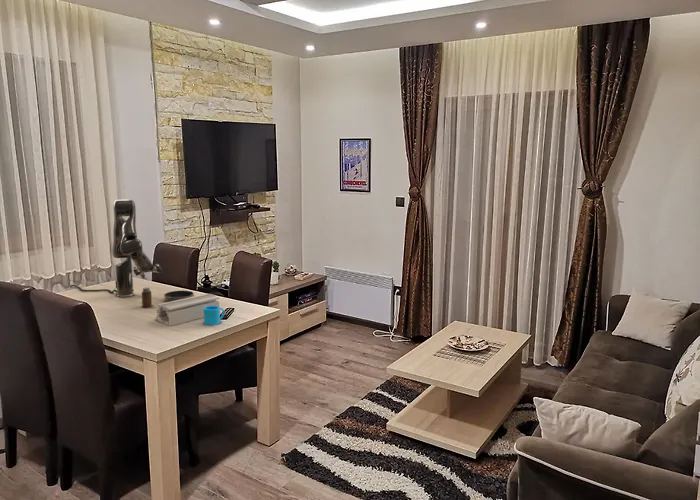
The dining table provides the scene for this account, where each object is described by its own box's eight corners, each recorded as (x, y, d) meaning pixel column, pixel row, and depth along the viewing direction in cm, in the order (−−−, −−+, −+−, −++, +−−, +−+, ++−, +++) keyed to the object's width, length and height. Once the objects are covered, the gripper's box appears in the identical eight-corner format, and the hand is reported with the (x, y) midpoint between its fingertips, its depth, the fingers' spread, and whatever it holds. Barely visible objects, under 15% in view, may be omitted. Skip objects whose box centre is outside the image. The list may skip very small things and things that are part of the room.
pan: (158, 301, 305) (157, 295, 304) (178, 294, 320) (177, 289, 320) (180, 304, 298) (180, 299, 298) (199, 298, 314) (199, 292, 313)
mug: (209, 326, 261) (209, 311, 260) (201, 322, 267) (200, 307, 265) (229, 321, 270) (228, 306, 269) (220, 317, 276) (219, 303, 274)
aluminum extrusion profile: (155, 319, 270) (154, 301, 268) (204, 308, 293) (204, 291, 291) (170, 325, 261) (169, 307, 259) (219, 313, 284) (218, 296, 282)
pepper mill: (140, 307, 292) (139, 288, 290) (147, 304, 297) (146, 286, 295) (147, 308, 290) (146, 289, 288) (153, 305, 295) (152, 287, 293)
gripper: (155, 254, 277) (164, 267, 291) (128, 258, 276) (139, 271, 290) (155, 265, 274) (164, 279, 288) (128, 270, 272) (138, 283, 286)
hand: (151, 275), depth 289 cm, fingers open, 8 cm apart
